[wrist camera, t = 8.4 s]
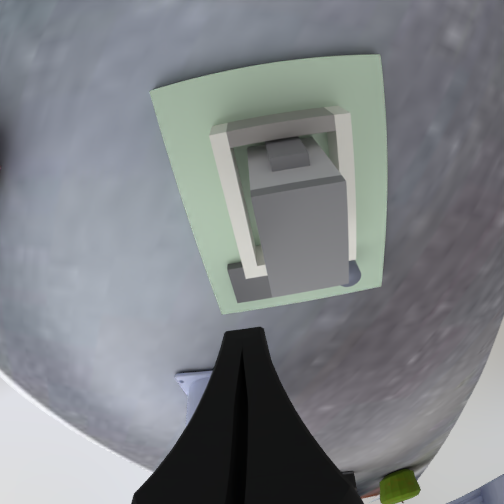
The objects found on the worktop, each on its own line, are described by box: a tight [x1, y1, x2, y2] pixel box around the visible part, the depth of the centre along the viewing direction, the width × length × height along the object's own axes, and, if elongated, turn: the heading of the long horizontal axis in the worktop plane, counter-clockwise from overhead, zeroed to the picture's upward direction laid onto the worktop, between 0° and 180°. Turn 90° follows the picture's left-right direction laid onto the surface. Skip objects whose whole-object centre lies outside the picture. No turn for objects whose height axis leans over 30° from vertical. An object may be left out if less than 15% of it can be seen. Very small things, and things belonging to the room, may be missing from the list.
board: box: [149, 54, 387, 315], centre depth 18 cm, size 16×12×3 cm
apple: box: [380, 469, 421, 504], centre depth 66 cm, size 12×12×11 cm
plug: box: [247, 136, 349, 298], centre depth 15 cm, size 6×4×6 cm, turn 11°
